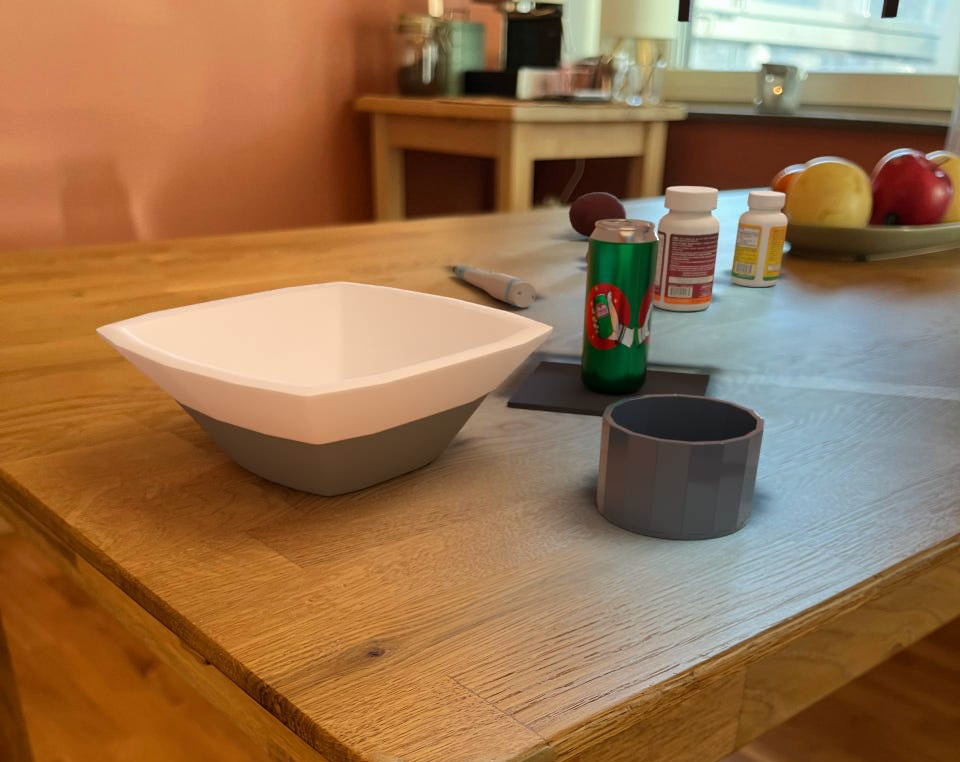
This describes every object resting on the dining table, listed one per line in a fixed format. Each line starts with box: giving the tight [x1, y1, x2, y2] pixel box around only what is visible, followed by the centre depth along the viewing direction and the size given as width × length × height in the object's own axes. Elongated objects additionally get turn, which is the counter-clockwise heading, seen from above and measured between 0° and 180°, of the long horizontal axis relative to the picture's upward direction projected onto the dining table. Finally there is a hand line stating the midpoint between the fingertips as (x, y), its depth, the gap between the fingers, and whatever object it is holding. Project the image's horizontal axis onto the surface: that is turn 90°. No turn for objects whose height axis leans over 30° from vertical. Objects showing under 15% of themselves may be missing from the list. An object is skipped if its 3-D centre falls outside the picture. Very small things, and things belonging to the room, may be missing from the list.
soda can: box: [580, 218, 659, 395], centre depth 76 cm, size 5×5×12 cm
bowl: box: [95, 281, 554, 497], centre depth 64 cm, size 22×23×8 cm
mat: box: [506, 360, 710, 417], centre depth 79 cm, size 14×12×1 cm
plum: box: [568, 191, 627, 238], centre depth 143 cm, size 7×8×6 cm
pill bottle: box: [653, 185, 721, 312], centre depth 104 cm, size 6×6×11 cm
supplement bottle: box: [730, 190, 788, 288], centre depth 115 cm, size 5×5×10 cm
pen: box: [452, 265, 537, 308], centre depth 111 cm, size 19×3×3 cm, turn 24°
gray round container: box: [596, 394, 765, 541], centre depth 58 cm, size 9×9×6 cm
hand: (784, 20), depth 70 cm, fingers open, 13 cm apart
